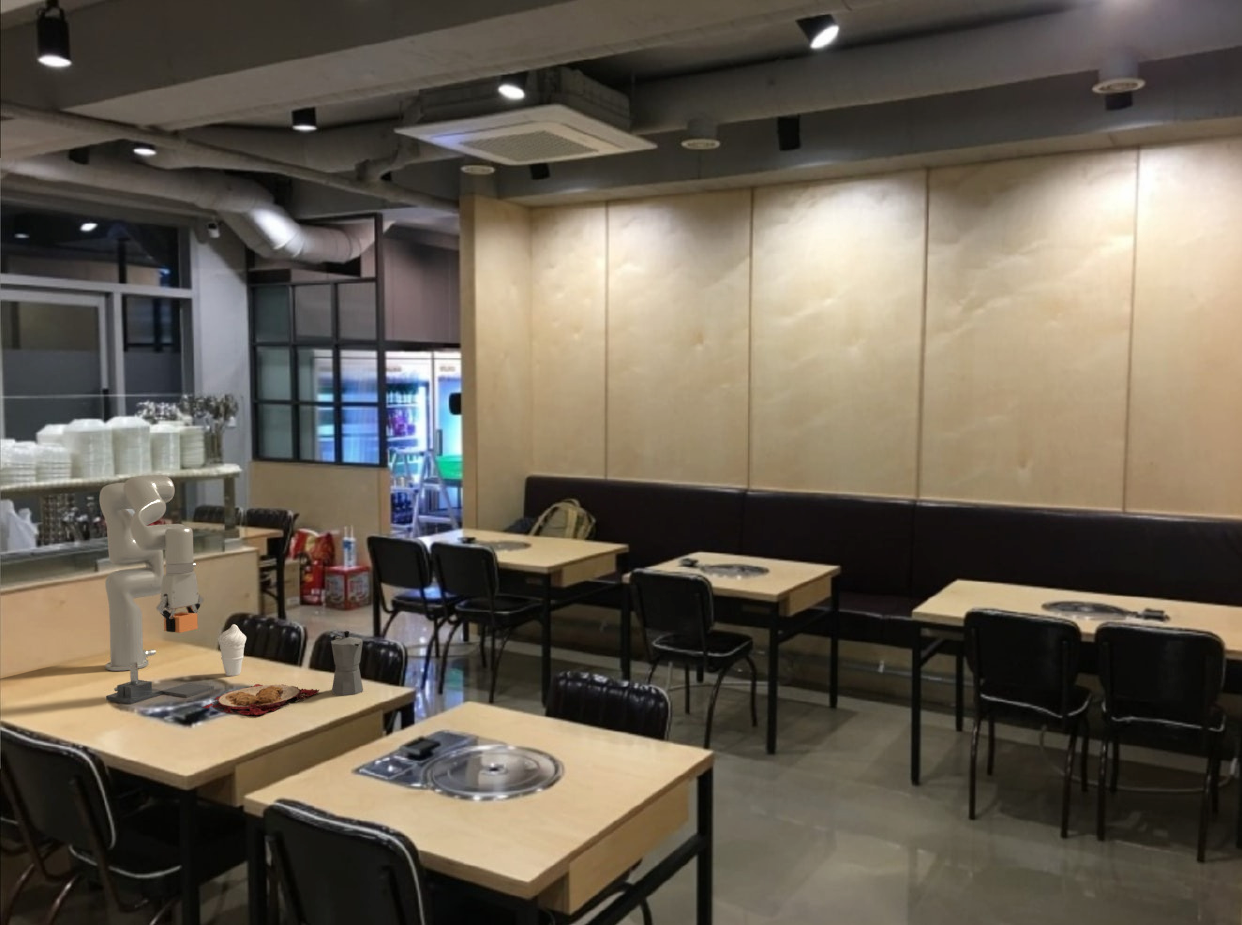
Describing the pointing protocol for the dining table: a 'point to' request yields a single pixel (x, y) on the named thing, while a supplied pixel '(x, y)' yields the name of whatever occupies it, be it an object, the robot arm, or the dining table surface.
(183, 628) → the orange square tube
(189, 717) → the dining table surface
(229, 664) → the soft serve ice cream cone
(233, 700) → the plate with food
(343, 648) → the coffeepot
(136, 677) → the grey peg stand
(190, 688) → the mat
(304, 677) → the dining table surface
